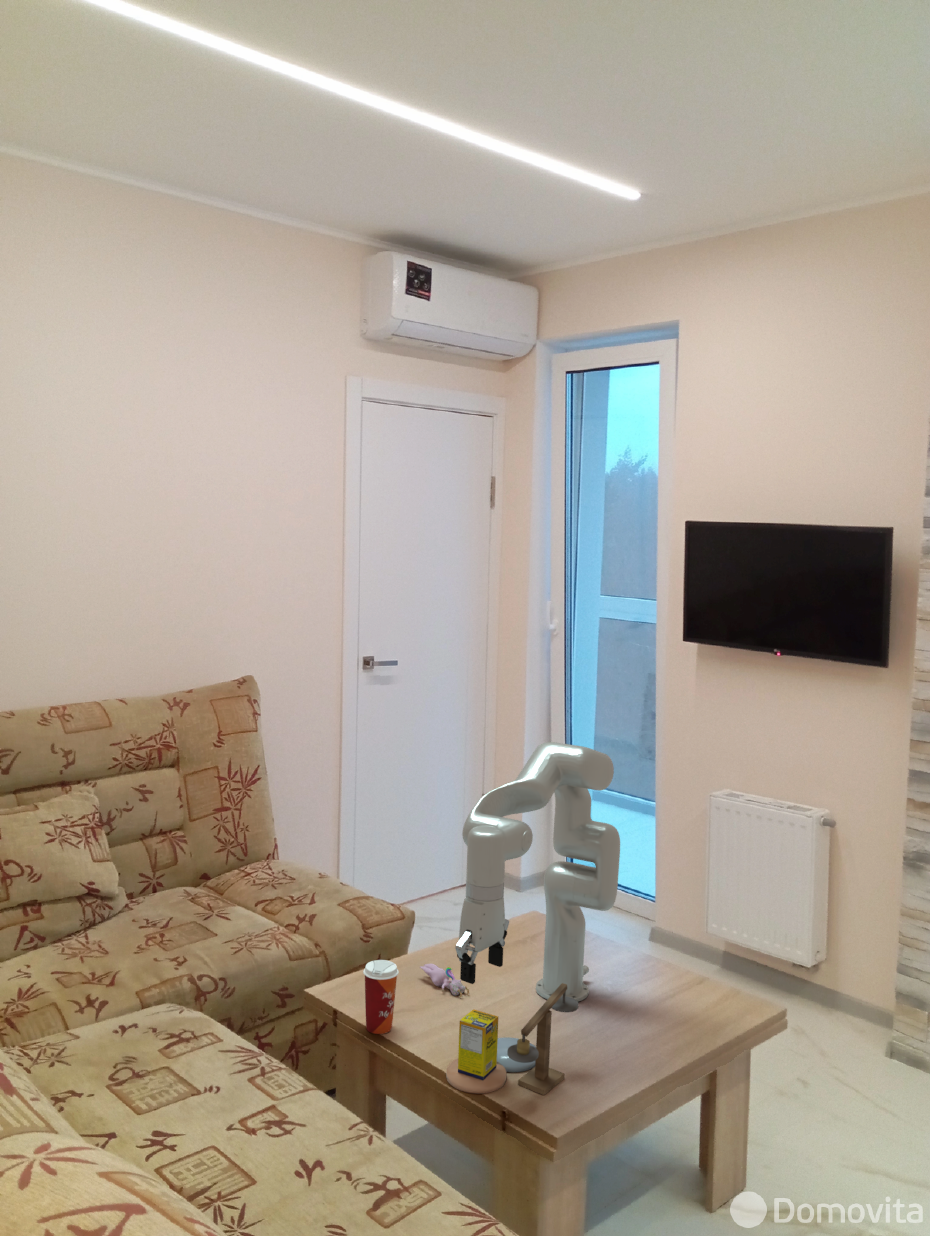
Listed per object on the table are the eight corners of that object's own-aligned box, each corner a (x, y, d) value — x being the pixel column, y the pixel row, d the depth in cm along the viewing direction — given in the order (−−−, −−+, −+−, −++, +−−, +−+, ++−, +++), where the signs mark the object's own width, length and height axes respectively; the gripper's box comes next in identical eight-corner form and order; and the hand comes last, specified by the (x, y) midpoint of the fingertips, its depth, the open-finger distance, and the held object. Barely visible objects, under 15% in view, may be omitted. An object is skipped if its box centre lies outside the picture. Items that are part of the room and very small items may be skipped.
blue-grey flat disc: (501, 1037, 218) (502, 1031, 218) (549, 1055, 211) (549, 1049, 211) (470, 1059, 208) (470, 1053, 208) (519, 1078, 201) (519, 1073, 201)
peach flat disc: (468, 1055, 209) (469, 1050, 209) (517, 1075, 202) (517, 1069, 202) (434, 1079, 199) (434, 1073, 199) (484, 1100, 193) (484, 1094, 192)
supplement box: (497, 1068, 202) (499, 1015, 202) (483, 1081, 197) (485, 1027, 196) (471, 1059, 205) (473, 1008, 204) (456, 1072, 200) (459, 1019, 199)
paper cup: (391, 1038, 215) (393, 975, 214) (356, 1033, 216) (358, 971, 215) (400, 1022, 222) (403, 961, 221) (367, 1017, 224) (369, 956, 223)
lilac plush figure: (472, 998, 239) (429, 968, 249) (476, 976, 238) (433, 946, 247) (454, 1006, 234) (411, 975, 244) (458, 983, 233) (415, 953, 243)
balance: (555, 1055, 211) (559, 974, 209) (580, 1065, 207) (584, 982, 206) (499, 1099, 193) (503, 1011, 192) (525, 1110, 190) (530, 1020, 189)
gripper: (493, 874, 207) (490, 953, 209) (443, 897, 193) (440, 983, 195) (524, 882, 203) (520, 963, 205) (475, 907, 189) (472, 994, 190)
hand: (481, 973), depth 200 cm, fingers open, 9 cm apart
